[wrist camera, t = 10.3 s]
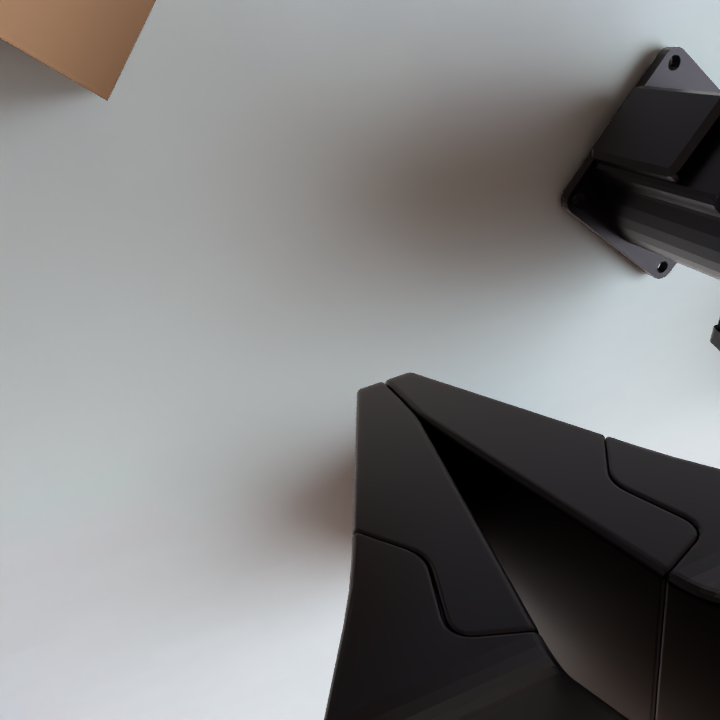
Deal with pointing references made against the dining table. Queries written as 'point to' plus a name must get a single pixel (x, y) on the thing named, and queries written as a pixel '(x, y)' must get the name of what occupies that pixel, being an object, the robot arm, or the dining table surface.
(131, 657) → the dining table surface
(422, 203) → the dining table surface
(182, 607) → the dining table surface
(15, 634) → the dining table surface
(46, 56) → the lever stand
